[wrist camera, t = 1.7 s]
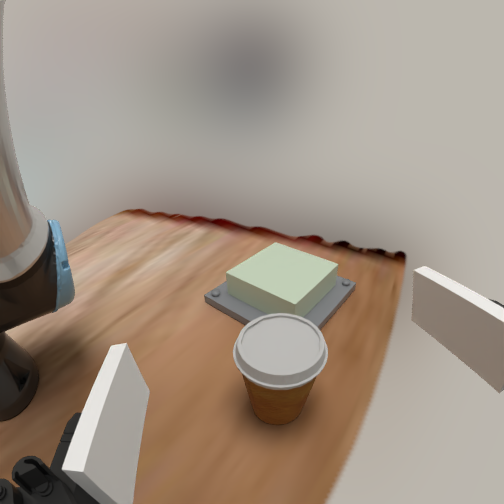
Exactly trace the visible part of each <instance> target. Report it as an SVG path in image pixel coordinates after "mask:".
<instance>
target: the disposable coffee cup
mask: <svg viewBox="0 0 504 504" xmlns="http://www.w3.org/2000/svg"><path fill="white" fill-rule="evenodd" d="M233 356H234V361H235V363H236V365H237V367H238V369H239V370H240V372H241V373H242V375H243V379H244V381H245V385H246V388H247V391H248V394H249V397H250V400H251V404H252V407H253V410H254V413H255V414H256V416H257V417H258V418H259V419H261V420H262V421H264V422H266V423H268V424H273V425H281V424H286V423H289V422H291V421H293V420H294V419H295V418H297V417H298V415H299V414H300V412H301V410H302V408H303V406H304V403H305V401H306V399H307V397H308V395H309V393H310V390H311V388H312V386H313V383H314V381H315V379H316V377H317V375H318V374H319V373H320V372H321V371H322V369H323V368H324V366H325V364H326V361H327V357H328V349H327V345H326V342H325V341H324V337H323V335H322V333H321V331H320V330H319V329H318V327H317V326H316V325H314V324H313V323H312V322H311V321H309V320H307V319H305V318H303V317H300V316H297V315H293V314H287V313H275V314H269V315H265V316H261V317H258V318H256V319H254V320H252V321H251V322H249V323H248V324H247V325H246V326H245V327H244V328H243V329H242V330H241V332H240V334H239V337H238V338H237V340H236V342H235V344H234V349H233Z"/></svg>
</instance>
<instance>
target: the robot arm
mask: <svg viewBox="0 0 504 504" xmlns="http://www.w3.org/2000/svg"><path fill="white" fill-rule="evenodd" d="M5 1H6V0H0V421H1V420H7V419H10V418H12V417H14V416H16V415H17V414H19V413H20V412H21V411H22V410H23V409H24V408H25V407H26V406H27V405H28V404H29V402H30V401H31V399H32V398H33V396H34V394H35V392H36V389H37V385H38V379H39V374H38V368H37V366H36V364H35V362H34V361H33V359H32V358H31V356H30V355H29V353H28V352H27V351H26V350H25V349H23V348H22V347H21V346H20V345H19V344H17V343H16V342H15V341H14V340H13V339H12V338H10V337H9V336H8V335H7V334H6V333H5V331H7V330H9V329H12V328H14V327H16V326H19V325H21V324H24V323H26V322H28V321H31V320H34V319H36V318H39V317H41V316H44V315H46V314H49V313H51V312H52V313H54V312H56V311H57V310H58V309H60V308H62V307H64V306H66V305H68V304H70V303H71V302H72V301H73V299H74V296H75V289H74V283H73V278H72V273H71V269H70V266H69V263H68V257H67V251H66V247H65V243H64V239H63V235H62V231H61V227H60V225H59V222H58V221H57V220H46V218H45V216H44V214H43V213H42V212H41V211H40V210H39V209H37V208H36V207H34V206H31V205H29V202H28V199H27V195H26V192H25V189H24V185H23V182H22V178H21V174H20V171H19V167H18V162H17V158H16V154H15V149H14V145H13V139H12V135H11V129H10V123H9V117H8V110H7V103H6V94H5V84H4V71H3V40H2V39H3V37H2V36H3V13H4V3H5ZM413 272H414V273H413V304H412V321H413V322H415V323H416V324H417V325H418V326H420V327H421V328H422V329H423V330H425V331H426V332H427V333H428V334H430V335H431V336H432V337H434V338H435V339H436V340H437V341H438V342H440V343H441V344H442V345H443V346H445V347H446V348H447V349H448V350H449V351H451V352H452V353H453V354H454V355H456V356H457V357H458V358H459V359H460V360H461V361H463V362H464V363H465V364H466V365H467V366H468V367H470V368H471V369H472V370H473V371H475V372H476V373H477V374H478V375H479V376H480V377H481V378H483V379H484V380H485V381H486V382H487V383H488V384H489V385H491V386H492V387H493V388H494V389H495V390H496V391H498V392H499V393H500V392H501V391H503V390H504V305H502V304H500V303H499V302H497V301H494V300H490V299H487V298H485V297H483V296H481V295H480V294H478V293H476V292H474V291H472V290H470V289H468V288H466V287H465V286H463V285H461V284H459V283H457V282H455V281H453V280H451V279H450V278H448V277H446V276H444V275H442V274H440V273H438V272H436V271H434V270H432V269H430V268H428V267H426V266H424V267H421V268H418V269H416V270H414V271H413ZM149 393H150V390H149V389H148V387H147V385H146V383H145V381H144V379H143V377H142V375H141V373H140V371H139V369H138V367H137V364H136V362H135V360H134V358H133V356H132V354H131V352H130V349H129V347H128V345H127V343H124V344H118V345H112V346H111V347H110V349H109V352H108V354H107V356H106V358H105V360H104V362H103V365H102V367H101V369H100V371H99V374H98V376H97V378H96V381H95V383H94V385H93V387H92V390H91V392H90V395H89V397H88V399H87V402H86V404H85V407H84V409H83V412H82V413H75V414H74V415H73V417H72V418H71V419H70V420H69V421H68V423H67V425H66V427H65V430H64V432H63V433H64V435H62V437H61V440H60V441H61V443H59V445H58V448H57V450H56V453H55V456H54V458H53V461H52V464H51V466H50V469H49V468H48V467H47V466H46V465H45V464H44V463H43V462H42V461H41V459H39V458H37V457H36V456H27V457H24V458H22V459H21V460H19V461H18V462H17V463H16V465H15V466H14V468H13V471H12V480H13V481H14V482H16V483H17V484H18V485H19V486H20V487H17V488H16V487H15V486H14V485H12V484H11V483H10V482H9V481H8V480H6V479H0V504H133V497H134V488H135V480H136V472H137V465H138V458H139V451H140V444H141V438H142V432H143V426H144V420H145V414H146V409H147V403H148V398H149Z"/></svg>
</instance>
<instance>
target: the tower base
mask: <svg viewBox="0 0 504 504" xmlns="http://www.w3.org/2000/svg"><path fill="white" fill-rule="evenodd" d="M337 270H338V264H336V263H334V262H331V261H328V260H325V259H322V258H319V257H316V256H314V255H311V254H308V253H305V252H302V251H299V250H296V249H293V248H290V247H288V246H285V245H282V244H279V243H276V242H275V243H273V244H272V245H270V246H269V247H267V248H265V249H264V250H262V251H260V252H259V253H257V254H255V255H254V256H252V257H250V258H249V259H247V260H246V261H244V262H242V263H241V264H239V265H237V266H236V267H234V268H232V269H231V270H229V271H227V272H226V279H227V281H226V282H224V283H223V284H221V285H219V286H218V287H216V288H215V289H213V290H212V291H210V292H208V293H207V294H205V295H204V297H205V302H207V303H208V304H210V305H212V306H213V307H215V308H217V309H218V310H220V311H222V312H224V313H225V314H227V315H229V316H230V317H232V318H234V319H236V320H237V321H239V322H241V323H243V324H245V325H247V324H248V323H249V322H251V321H252V320H254V319H256V318H258V317H261V316H265V315H269V314H275V313H287V314H293V315H297V316H300V317H303V318H305V319H307V320H309V321H311V322H312V323H313V324H314V325H316V326H317V327H318V329H319V330H320V329H321V328H322V327H323V326H324V325H325V324H326V323H327V321H328V320H329V319H330V318H331V317H332V316H333V314H334V313H335V312H336V311H337V310H338V309H339V307H340V306H341V305H342V304H343V303H344V302H345V300H346V299H347V298H348V297H349V296H350V294H351V293H352V292H353V291H354V290H355V285H356V283H355V282H353V281H350V280H349V279H344V278H342V277H339V276H337Z"/></svg>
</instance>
